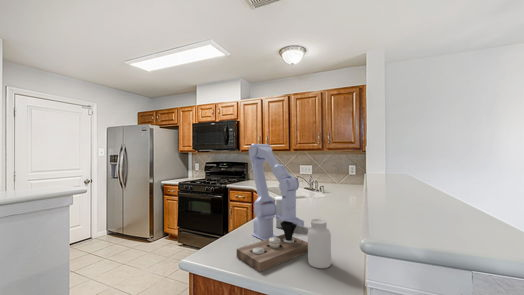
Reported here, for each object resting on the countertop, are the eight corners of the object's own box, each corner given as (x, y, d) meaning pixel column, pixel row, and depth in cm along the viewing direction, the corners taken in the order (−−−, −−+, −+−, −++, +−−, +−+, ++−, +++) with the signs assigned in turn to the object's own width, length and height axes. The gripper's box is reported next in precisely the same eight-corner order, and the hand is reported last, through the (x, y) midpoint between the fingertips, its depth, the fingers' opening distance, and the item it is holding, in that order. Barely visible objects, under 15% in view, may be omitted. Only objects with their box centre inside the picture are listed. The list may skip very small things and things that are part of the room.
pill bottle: (324, 271, 75) (323, 226, 75) (303, 263, 81) (302, 221, 81) (335, 262, 81) (334, 220, 81) (315, 256, 86) (314, 216, 87)
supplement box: (292, 228, 119) (293, 199, 120) (275, 227, 120) (275, 199, 120) (290, 222, 129) (291, 196, 129) (275, 222, 129) (275, 196, 129)
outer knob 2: (281, 247, 94) (281, 239, 94) (288, 244, 97) (288, 237, 97) (288, 250, 91) (289, 242, 91) (296, 247, 93) (296, 240, 93)
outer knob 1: (250, 258, 84) (250, 249, 84) (259, 255, 87) (259, 246, 87) (257, 262, 80) (257, 253, 80) (266, 259, 83) (266, 250, 83)
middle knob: (266, 247, 89) (266, 239, 89) (274, 244, 92) (274, 236, 92) (274, 251, 86) (274, 242, 86) (282, 248, 88) (282, 239, 88)
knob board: (236, 256, 86) (236, 248, 86) (285, 240, 102) (285, 233, 102) (259, 271, 75) (259, 262, 75) (310, 250, 91) (310, 243, 91)
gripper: (270, 204, 97) (269, 237, 97) (295, 211, 86) (295, 248, 86) (281, 202, 102) (281, 233, 101) (307, 208, 90) (307, 243, 90)
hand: (288, 239), depth 94 cm, fingers closed, pressing on outer knob 2
